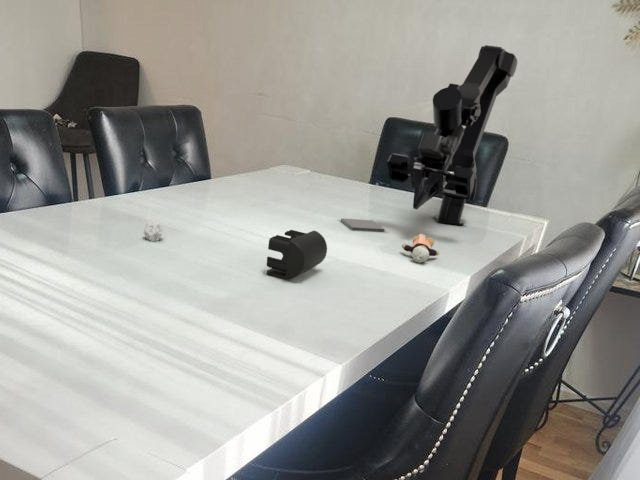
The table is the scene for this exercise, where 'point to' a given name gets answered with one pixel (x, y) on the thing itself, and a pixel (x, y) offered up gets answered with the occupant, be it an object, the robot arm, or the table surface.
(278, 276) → the end cap
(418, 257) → the grandmother figurine
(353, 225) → the slate coaster
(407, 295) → the table surface
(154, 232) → the whitish grey rough lump
